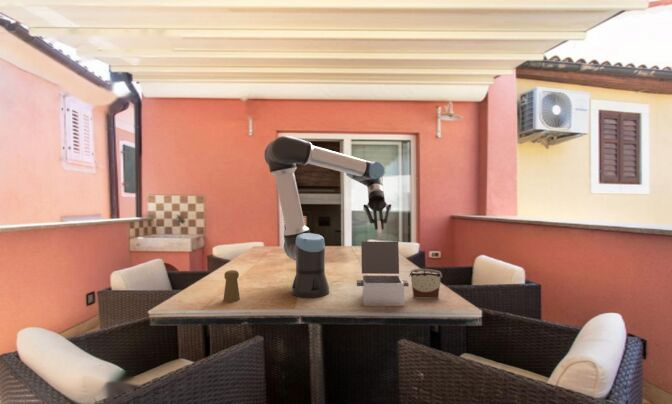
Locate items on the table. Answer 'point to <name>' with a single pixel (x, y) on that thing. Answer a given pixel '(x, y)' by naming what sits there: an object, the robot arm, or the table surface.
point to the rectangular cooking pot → (382, 290)
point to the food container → (425, 283)
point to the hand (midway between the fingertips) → (379, 234)
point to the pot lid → (380, 257)
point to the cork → (231, 286)
